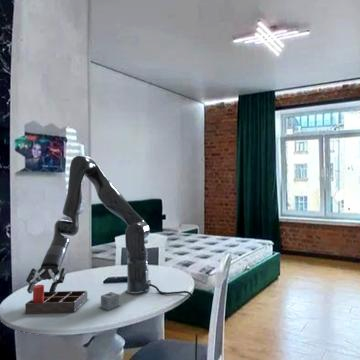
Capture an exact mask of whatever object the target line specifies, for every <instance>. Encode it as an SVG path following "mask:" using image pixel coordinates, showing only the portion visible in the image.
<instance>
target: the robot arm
mask: <svg viewBox="0 0 360 360" xmlns="http://www.w3.org/2000/svg"><path fill="white" fill-rule="evenodd" d="M68 173H69V175H68V184H67V192H66V197H65V200H64V204H63V207H62V208H63V209H62V215H63V216H65V217H67V218H70V219H71V220H67V219H62V218H61V219H58V220H56V222H55V223H54V227H53V237H52V240H51V243H50V245H49V247H48V249H47V250H46V253H45V255H44V258H43V260H42V262H41V264H40V268H38V269H35V268H31V270H30V272H29V273H28V276H27V277H26V280H25V281H26V283H28V286H27V289H26V291H27V293H28V294H33V287H34V286H36V284H38V283H39V282H41V281H45V280H49V281H50V280H52V283H51V285H50V288H49V291H48V292H50V293H53V292H54V291H56V290H57V287H58V285H59V284H63V283H64V282H65V277H66V274H67V269H66V268H65V267H62V264H63V262H64V259H65V256H66V253H67V250H68V248H69V244H70V239H69V237H68V236H70V237H75V236H76V235H77V234H78V233H79V229H80V227H79V226H80V223H79V215H80V210H81V206H82V201H83V194H82V183H83V179H84V177H86V178H87V179H88V180H89V181H90V183H91V184H92V185H93V187H94V189H95V192H96V195H97V198H98V200H99V201H100V202H101V203H102V204H103V206H104V207H105V208H106V209H107V210H108V211H109V212H111V213H112V214H113V215H115V216H116V217H118V218H120V219H121V220H122V221H123V222H124V223H125V224H126V228H125V234H124V237H125V250H126V255H127V257H126V259H127V261H126V262H127V263H126V266H127V268H126V270H127V271H126V272H127V276H126V277H127V279H126V286H127V287H126V292H127V293H128V294H131V295H138V294H143V293H147V291H148V290H149V289H150V288H151V287H152V288H154V289H155V290H156V291H157V292H158V293H159V294H161V295H179V294H187V295H190V296H191V297H194V295H193V293H192V292H190V291H188V290H180V291H169V292H168V291H167V292H166V291H161V290H160V289H159V288H158V286H156V285H154V284H152V280H151V279H149V268H148V251H149V250H148V248H147V247H146V245H145V239H147V238H148V237H149V236H150V233H151V229H150V226H149V224H148V223H147V222H146V221H145V220H144V219H143V217H141V216H140V215H139V214H138V213H137V212H136V210H134V208H133V207H132V206H131V204H129V202H128V201H127V200H126V198H125V197H124V196H123V195H122V193H121V192H120V191H119V190H118V189H117V188H116V187H115V185H114V184H113V183H112V182H111V180H109V179H108V177H107V176H106V175H105V174H104V172H103V170H102V169H101V168H100V166H99V165H98V163H97V162H96V160H95V159H93V158H92V157H90V156H86V155H76V156H74V157H72V159H71V161H70V164H69V172H68ZM61 267H62V268H61ZM58 274H59V276H58V279H57V275H58ZM194 341H195V343H194V347H195V348H194V360H198V333H195V339H194Z"/></svg>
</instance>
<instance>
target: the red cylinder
mask: <svg viewBox="0 0 360 360" xmlns="http://www.w3.org/2000/svg"><path fill="white" fill-rule="evenodd" d="M44 292H45V284H37V285H36V284H35V286H34V287H33V291H32V299H33V303H43V302H44Z"/></svg>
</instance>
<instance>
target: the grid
mask: <svg viewBox="0 0 360 360" xmlns="http://www.w3.org/2000/svg"><path fill="white" fill-rule="evenodd" d="M87 300H88V290H64V291H63V290H62V291H61V290H60V291H57V290H55V291H54V292H53V293H50V292H49V291H44V302H43V303H33V298H31V299H30V300H29V301H27V302H26V303H25V304H24V305H25V314H54V313H55V314H56V313H57V314H58V313H59V314H60V313H61V314H62V313H75V312H77V310H78V309H79V308H80V307H82V305H83V304H85V302H87Z"/></svg>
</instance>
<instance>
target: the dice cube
mask: <svg viewBox="0 0 360 360" xmlns="http://www.w3.org/2000/svg"><path fill="white" fill-rule="evenodd" d="M119 306H120V294H119V293H116V292H113V291H110V292H108V293H105V294H102V295H100V308H101V309H104V310H106V311H111V310H113V309H115V308H117V307H119Z"/></svg>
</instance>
